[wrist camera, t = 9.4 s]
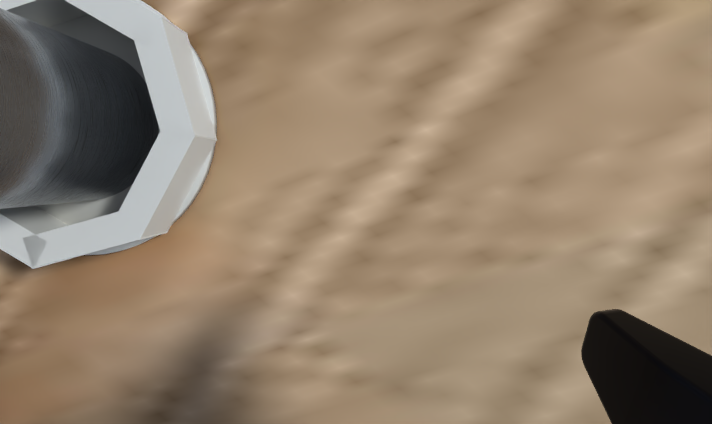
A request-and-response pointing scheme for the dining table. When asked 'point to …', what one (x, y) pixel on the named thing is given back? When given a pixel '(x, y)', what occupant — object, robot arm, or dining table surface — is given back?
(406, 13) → the dining table surface
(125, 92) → the canister
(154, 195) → the collar
